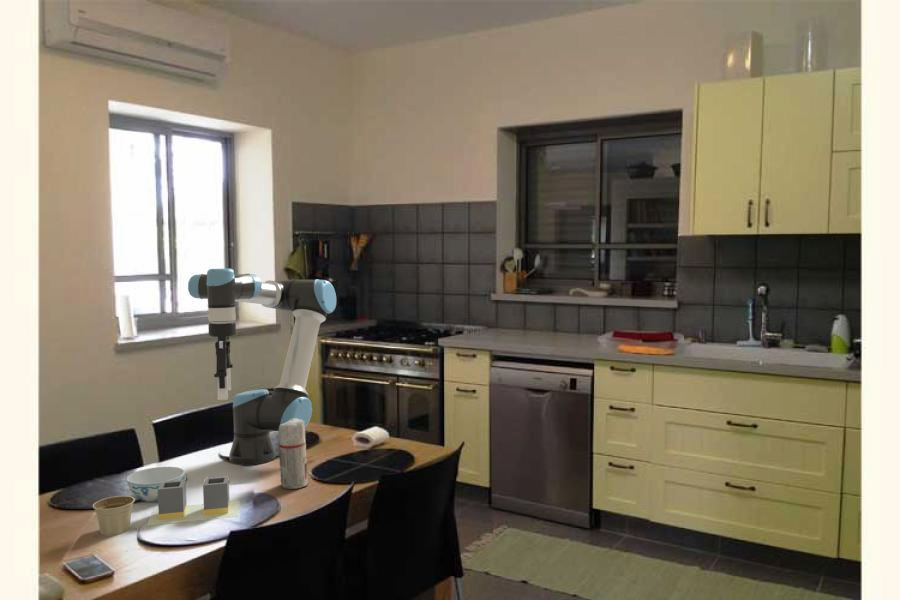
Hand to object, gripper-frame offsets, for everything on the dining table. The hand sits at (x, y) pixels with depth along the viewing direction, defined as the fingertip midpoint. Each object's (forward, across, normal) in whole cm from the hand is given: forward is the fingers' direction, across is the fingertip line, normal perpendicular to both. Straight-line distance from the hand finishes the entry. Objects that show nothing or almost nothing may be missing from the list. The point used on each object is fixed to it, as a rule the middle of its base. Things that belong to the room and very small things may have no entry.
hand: (224, 394), depth 201 cm
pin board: (+29, +19, -7) cm, 35 cm away
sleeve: (+27, +19, -2) cm, 33 cm away
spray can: (+29, 0, +19) cm, 35 cm away
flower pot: (+29, +26, -25) cm, 46 cm away
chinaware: (+29, +3, -19) cm, 35 cm away
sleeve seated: (+27, +19, -12) cm, 35 cm away
